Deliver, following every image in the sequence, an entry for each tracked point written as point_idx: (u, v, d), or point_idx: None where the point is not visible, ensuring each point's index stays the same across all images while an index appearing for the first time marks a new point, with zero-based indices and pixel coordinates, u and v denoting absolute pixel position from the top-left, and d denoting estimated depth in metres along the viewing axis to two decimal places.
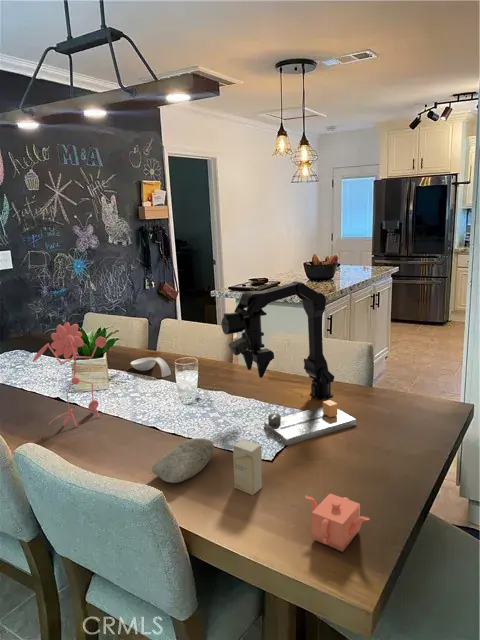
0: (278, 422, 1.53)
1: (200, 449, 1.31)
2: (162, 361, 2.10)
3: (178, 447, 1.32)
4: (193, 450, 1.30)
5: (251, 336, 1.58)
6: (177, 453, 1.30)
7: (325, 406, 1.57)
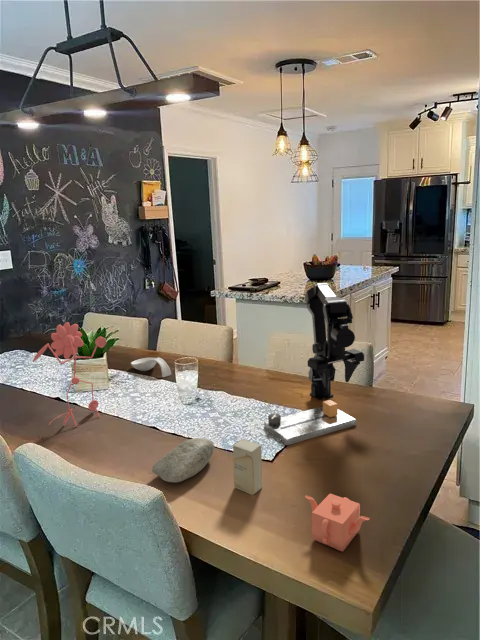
0: (278, 422, 1.53)
1: (200, 449, 1.31)
2: (162, 361, 2.10)
3: (178, 447, 1.33)
4: (193, 450, 1.30)
5: (326, 343, 1.55)
6: (177, 453, 1.30)
7: (325, 406, 1.57)
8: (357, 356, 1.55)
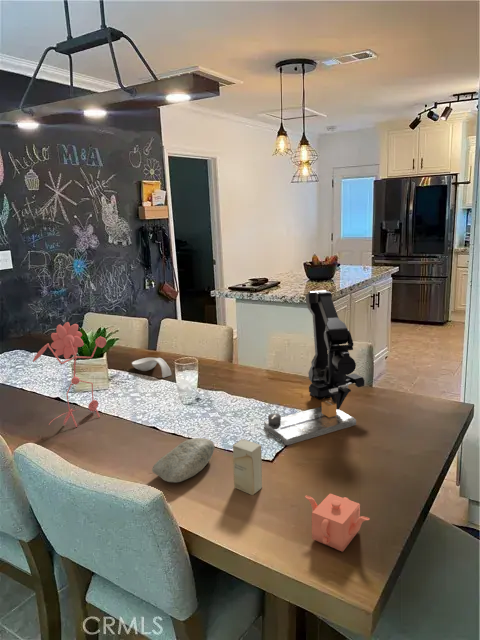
0: (278, 422, 1.53)
1: (200, 449, 1.31)
2: (163, 361, 2.10)
3: (178, 447, 1.33)
4: (194, 450, 1.30)
5: (327, 368, 1.56)
6: (177, 453, 1.30)
7: (324, 406, 1.57)
8: (358, 381, 1.57)
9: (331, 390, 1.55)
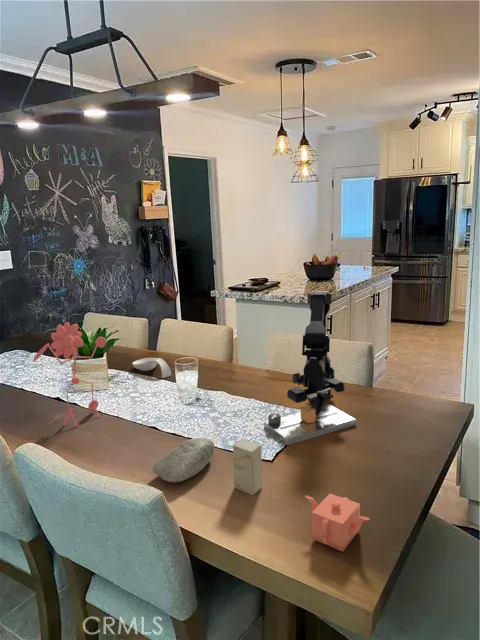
0: (278, 422, 1.53)
1: (200, 449, 1.31)
2: (163, 362, 2.09)
3: (179, 447, 1.33)
4: (194, 450, 1.30)
5: None
6: (178, 453, 1.30)
7: (303, 412, 1.54)
8: (337, 386, 1.54)
9: (310, 395, 1.51)
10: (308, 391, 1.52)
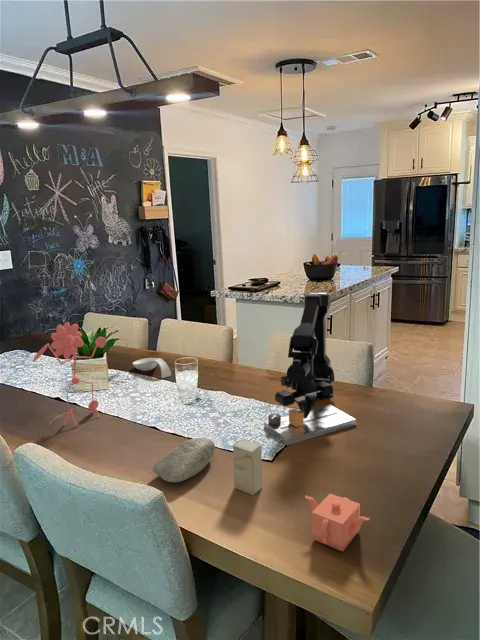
0: (278, 422, 1.53)
1: (200, 449, 1.31)
2: (163, 362, 2.09)
3: (179, 447, 1.33)
4: (194, 450, 1.30)
5: None
6: (178, 453, 1.30)
7: (291, 415, 1.52)
8: (326, 389, 1.52)
9: (298, 398, 1.49)
10: (296, 394, 1.50)
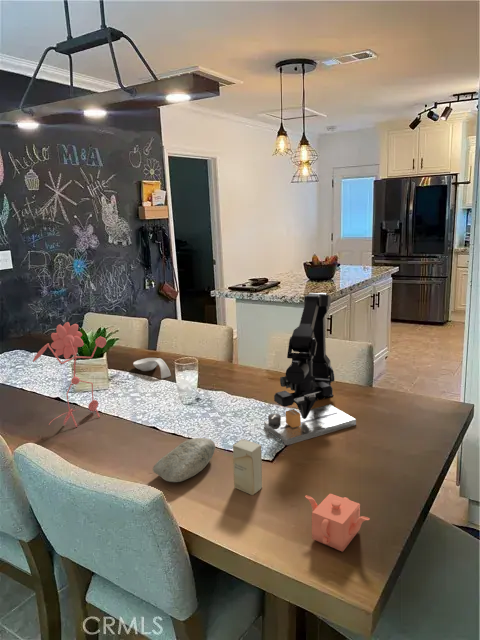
0: (278, 422, 1.53)
1: (201, 449, 1.31)
2: (162, 362, 2.09)
3: (179, 447, 1.33)
4: (194, 450, 1.30)
5: None
6: (178, 453, 1.30)
7: (288, 416, 1.51)
8: (325, 390, 1.52)
9: (297, 399, 1.49)
10: (295, 395, 1.50)
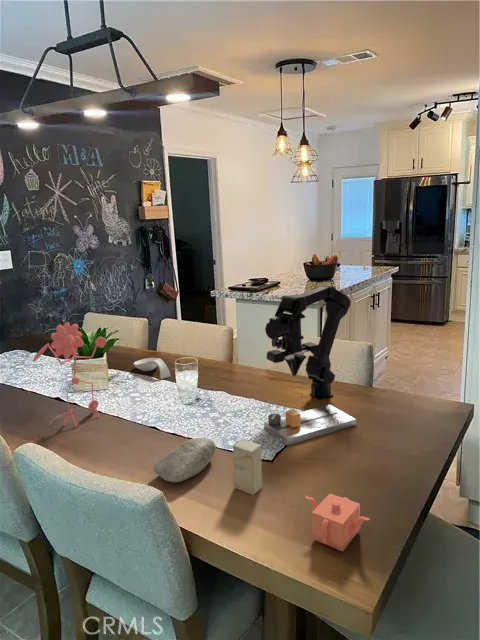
0: (278, 422, 1.53)
1: (201, 449, 1.31)
2: (162, 362, 2.08)
3: (179, 447, 1.33)
4: (195, 450, 1.30)
5: (284, 337, 1.65)
6: (178, 453, 1.30)
7: (288, 416, 1.51)
8: (313, 348, 1.66)
9: (287, 357, 1.63)
10: (286, 353, 1.64)
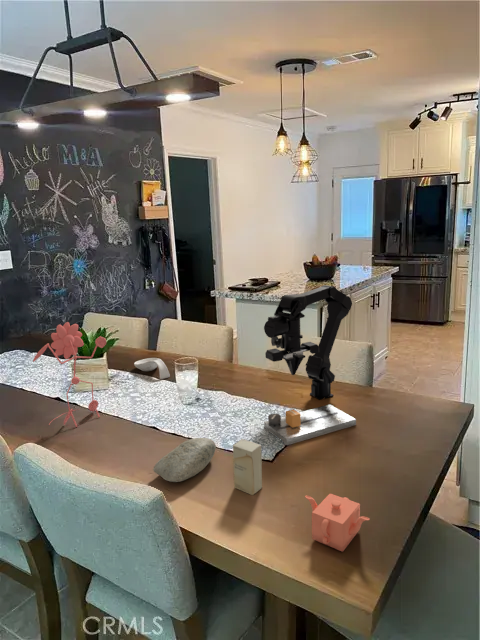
0: (278, 422, 1.53)
1: (201, 449, 1.31)
2: (161, 363, 2.08)
3: (180, 446, 1.33)
4: (195, 450, 1.30)
5: (283, 336, 1.66)
6: (179, 453, 1.30)
7: (288, 416, 1.51)
8: (312, 348, 1.66)
9: (286, 356, 1.64)
10: (285, 352, 1.65)
